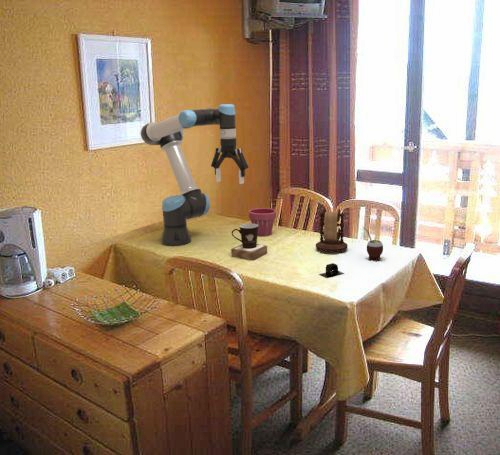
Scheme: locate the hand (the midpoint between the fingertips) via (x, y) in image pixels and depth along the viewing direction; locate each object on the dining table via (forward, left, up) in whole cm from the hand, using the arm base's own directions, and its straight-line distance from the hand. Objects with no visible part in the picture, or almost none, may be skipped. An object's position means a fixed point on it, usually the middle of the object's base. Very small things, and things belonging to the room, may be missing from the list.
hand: (230, 182), depth 243 cm
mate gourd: (+68, +12, -32) cm, 76 cm away
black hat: (+60, -14, -32) cm, 70 cm away
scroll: (+46, +16, -32) cm, 58 cm away
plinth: (+16, -9, -32) cm, 37 cm away
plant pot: (+2, +25, -32) cm, 41 cm away
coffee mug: (+14, -9, -28) cm, 33 cm away
